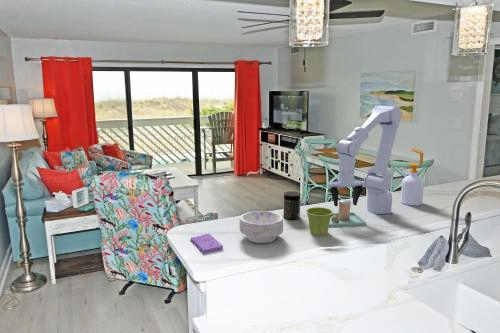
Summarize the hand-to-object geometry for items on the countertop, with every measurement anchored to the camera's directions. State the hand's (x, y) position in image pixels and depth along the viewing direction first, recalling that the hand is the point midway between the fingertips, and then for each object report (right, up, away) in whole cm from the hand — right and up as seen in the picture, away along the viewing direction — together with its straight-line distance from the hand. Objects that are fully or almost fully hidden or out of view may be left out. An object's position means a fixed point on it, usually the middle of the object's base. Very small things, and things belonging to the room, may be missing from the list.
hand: (345, 205), depth 151 cm
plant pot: (-13, -9, -12) cm, 20 cm away
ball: (-5, -7, -3) cm, 9 cm away
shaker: (0, -6, +2) cm, 6 cm away
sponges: (-52, -12, -20) cm, 57 cm away
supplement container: (-21, -6, +4) cm, 22 cm away
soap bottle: (+35, -1, +23) cm, 42 cm away
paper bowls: (-33, -10, -15) cm, 38 cm away
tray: (-2, -6, 0) cm, 7 cm away
